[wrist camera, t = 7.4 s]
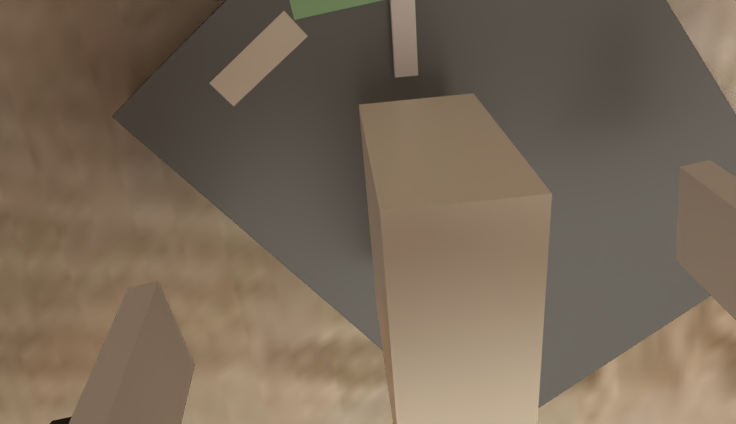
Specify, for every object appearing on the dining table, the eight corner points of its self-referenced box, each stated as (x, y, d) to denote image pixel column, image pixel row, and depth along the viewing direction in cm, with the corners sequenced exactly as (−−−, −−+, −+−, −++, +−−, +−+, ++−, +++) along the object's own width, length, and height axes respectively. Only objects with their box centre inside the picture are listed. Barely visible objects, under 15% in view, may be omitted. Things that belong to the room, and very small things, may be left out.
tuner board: (119, 89, 21) (101, 108, 19) (471, -270, 17) (489, -290, 15) (477, 407, 29) (488, 442, 27) (772, 208, 25) (808, 232, 23)
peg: (371, 269, 23) (400, 475, 15) (335, -119, 17) (353, -131, 9) (458, 260, 23) (534, 459, 15) (452, -130, 17) (573, -149, 9)
